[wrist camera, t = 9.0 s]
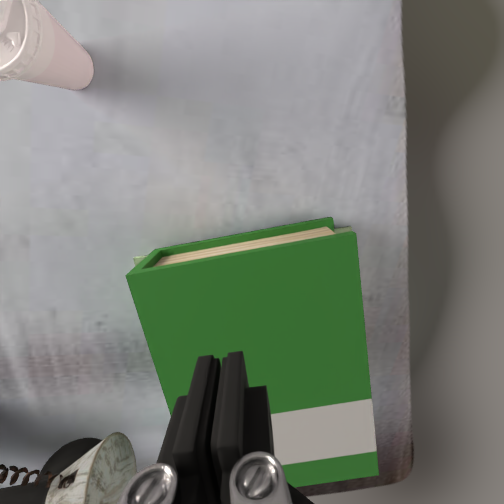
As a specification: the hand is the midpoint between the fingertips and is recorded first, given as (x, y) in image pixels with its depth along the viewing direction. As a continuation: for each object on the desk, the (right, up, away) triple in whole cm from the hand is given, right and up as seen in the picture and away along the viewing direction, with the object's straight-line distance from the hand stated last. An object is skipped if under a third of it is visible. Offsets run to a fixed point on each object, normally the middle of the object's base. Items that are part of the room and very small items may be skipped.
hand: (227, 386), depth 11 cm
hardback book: (0, +6, +15) cm, 16 cm away
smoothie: (-15, +21, +15) cm, 30 cm away
